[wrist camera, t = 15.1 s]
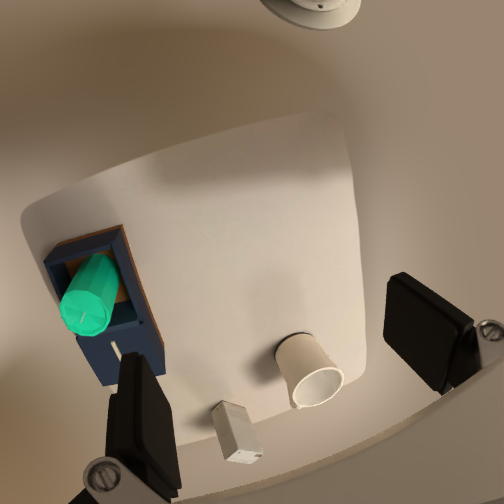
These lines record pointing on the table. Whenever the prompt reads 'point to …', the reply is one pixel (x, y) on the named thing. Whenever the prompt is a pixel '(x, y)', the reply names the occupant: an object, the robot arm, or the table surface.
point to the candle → (91, 295)
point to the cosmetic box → (236, 433)
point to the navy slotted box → (124, 310)
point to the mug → (307, 371)
